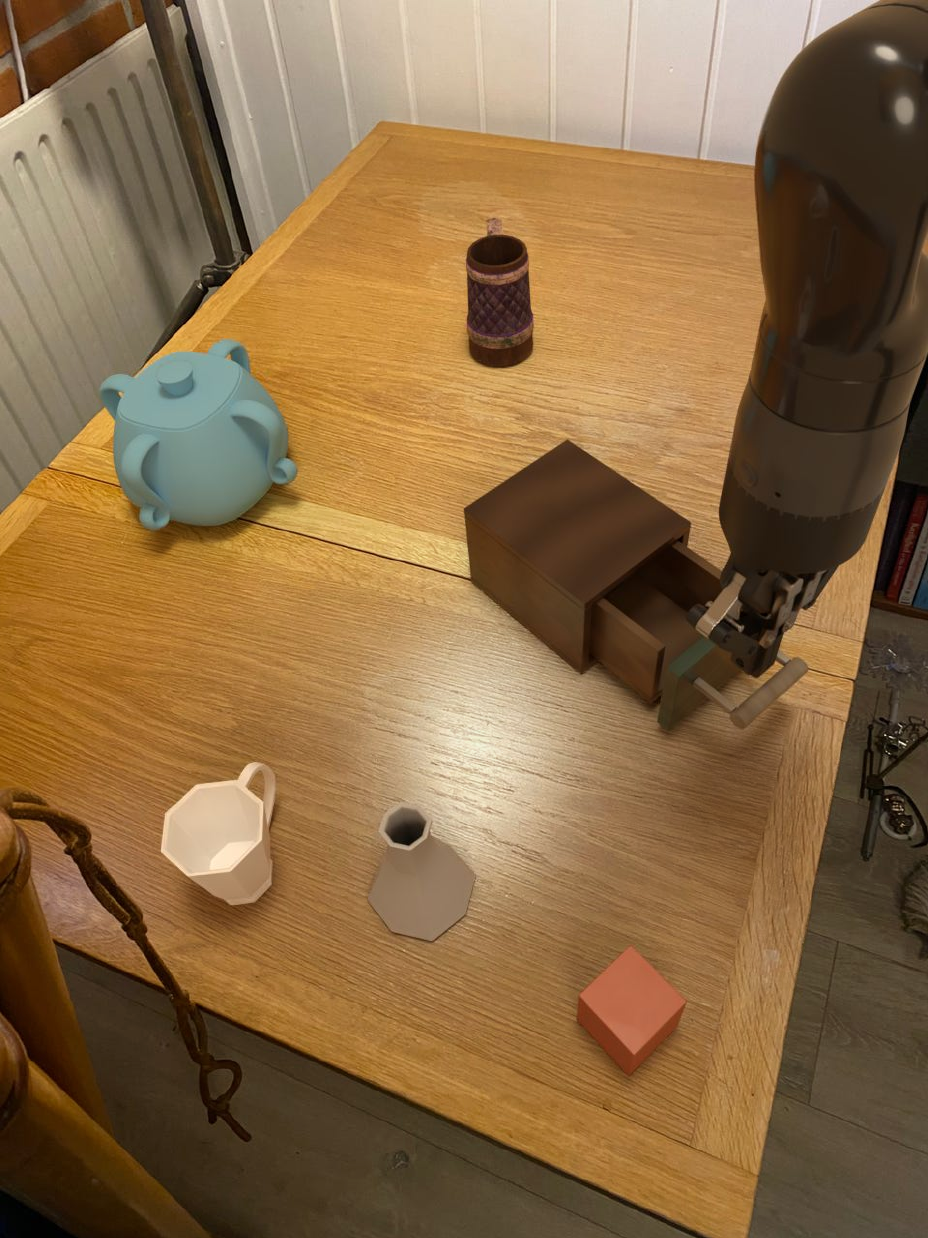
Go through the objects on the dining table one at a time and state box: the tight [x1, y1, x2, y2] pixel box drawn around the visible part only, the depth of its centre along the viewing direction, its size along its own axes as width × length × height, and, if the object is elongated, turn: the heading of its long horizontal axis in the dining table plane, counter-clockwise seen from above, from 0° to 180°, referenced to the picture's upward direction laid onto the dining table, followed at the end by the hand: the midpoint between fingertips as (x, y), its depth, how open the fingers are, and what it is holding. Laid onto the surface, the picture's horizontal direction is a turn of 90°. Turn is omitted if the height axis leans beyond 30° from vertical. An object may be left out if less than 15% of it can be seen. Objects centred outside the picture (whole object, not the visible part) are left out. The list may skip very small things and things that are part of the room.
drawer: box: [589, 540, 809, 732], centre depth 73 cm, size 17×10×7 cm, turn 41°
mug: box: [465, 217, 535, 367], centre depth 100 cm, size 10×7×12 cm
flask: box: [367, 801, 476, 942], centre depth 63 cm, size 7×7×10 cm
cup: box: [160, 761, 277, 906], centre depth 66 cm, size 7×10×8 cm
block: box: [576, 944, 688, 1077], centre depth 58 cm, size 4×4×5 cm
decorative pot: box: [98, 338, 298, 531], centre depth 88 cm, size 16×16×14 cm
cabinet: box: [463, 438, 692, 675], centre depth 78 cm, size 14×12×9 cm
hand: (752, 663), depth 60 cm, fingers closed
